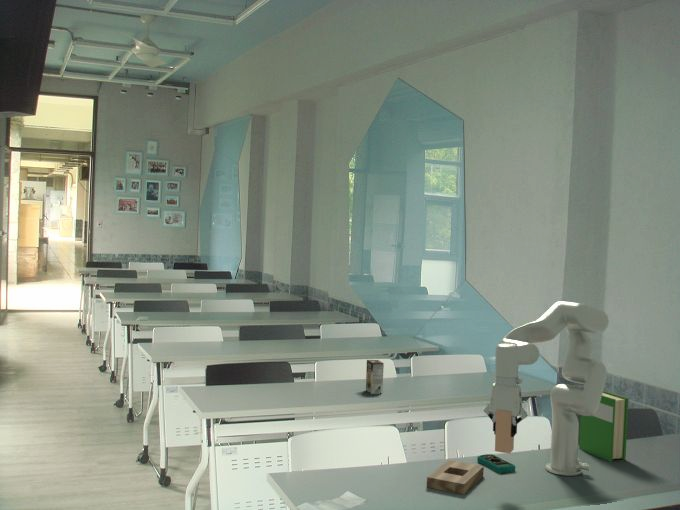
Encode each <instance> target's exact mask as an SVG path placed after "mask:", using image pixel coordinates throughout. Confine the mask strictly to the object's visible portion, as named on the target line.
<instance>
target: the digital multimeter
mask: <svg viewBox="0 0 680 510" xmlns="http://www.w3.org/2000/svg"><path fill="white" fill-rule="evenodd" d="M476 459H477V462H478V463H479V464H481V465H482V466H484V467H487V468H489V469H491V470H493V471H495V472H496V473H498V474H504V473H506V474H507V473H513V472H516V465H515V464H513V463H511V462H509V461H507V460H504V459H502V458H501V457H498V456H497V455H495V454H490V453H489V454H488V453H487V454H482V455H477V456H476Z"/></svg>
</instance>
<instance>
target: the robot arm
mask: <svg viewBox="0 0 680 510" xmlns="http://www.w3.org/2000/svg"><path fill="white" fill-rule="evenodd" d="M609 321H610V320H609V317H608V315H607V313H606V312H605V311H604V310H602V309H599V308H596V307H593V306H592V305H589V304H586V303H582V302H575V301H565V300H559V301H556V302H554V303H553V304H552V305H551V306H549V307H548V309H547V310H546V311H545V312H544V313H543V314H541V315H540V316H539V317H538V318H537V319H536V320H535V321H532V322H528V323H526V324H523V325H521V326H519V327H516V328H514V329H512V330H511V331H509V332H508V333H507V334H506V335H505V336H504V337H503V338H502V339H501V340H500V342H499V343H498V344H497V345H496V347H495V358H494V360H495V362H494V363H495V364H494V365H495V367H494V383H492V386H491V391H490V398H489V404H487V405H486V407H485V408H484V409H483V412H484V413H485V414H486V415H487V417H489V419H490V420H491V422H492V425H493V426H492V431H493V432H494V433H493V434H494V435H495V430H496V410H502V411H510V412H511V416H512V425H511V437H514V438H515V436H516V435H517V433H518V424H520V422H521V421H523V420H525V419H526V418H527V417H528V414H527V412H526V411H525V409H524V408H523V401H522V400H523V398H522V397H523V396H522V388H521V385H519V384H522V383H523V379H520V377H519V366H521V365H522V366H529V365H533V364H535V363H537V361H538V359H539V358H540V350H539V347H538V346H537V345H535V344H538V343H544V342H545V343H546V342H549V341H552V340H553V339H555V338H556V337H557V336H558V335H559V334H560V333H561V332H562V331H563V330H564V329H565V331H566V333H567V336H568V345H567V348H566V353H565V356H564V360H563V362H562V363H563V364H562V367H561V375H562V377H563V379H565V380H567V381H569V382H571V383H572V382H573V383H576V384H580V385H584V387H582V386H577V385H572V384H566V383H560V384H556V385H554V386H553V387H552V389H551V391H550V396H549V398H550V405H551V417H552V418H551V419H552V420H551V435H550V437H551V438H550V439H551V440H550V441H551V442H550V459H549V460H550V461H549V462H547V463H546V465H545V470H546V471H548V472H549V473H552V474H554V475H560V476H566V477H568V476H569V477H571V476H578V475H580V474H581V473H582V470H584V471H588V472H590V469H591V467H590V465H589V464H588V463H583V462H581V461H580V457H579V456H578V455H579V453H578V452H579V440H580V422H579V418H578V416H577V415H580V416H581V415H584V416H592V415H594V414H595V413H596V412H597V410H598V408H599V405H600V401H601V397H602V393H603V391H604V389H605V385H606V381H607V372H608V371H607V368H606V365H605V363H604V362H602V361H601V360H598V359H594V358H591V355H592V351H593V342H592V339H591V337H590V335H589V333H591V334H603V333H604V332H605V331H606V330H607V328H608V327H609ZM519 415H520V416H519ZM518 416H519V417H518Z"/></svg>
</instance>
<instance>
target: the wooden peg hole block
mask: <svg viewBox="0 0 680 510" xmlns="http://www.w3.org/2000/svg"><path fill="white" fill-rule="evenodd" d="M484 467H485V465H479V464H474V463H469V462H462V461H456V460H452V459H448V460H447V461H445V462H444V463H443V464H442V465H440V466H439V467H437V468H436V469H435V470H434V471H432V473H430V474H429V475H428V476H427V477H426V488H428V489H434V490H439V491H444V492H449V493H453V494H459V495H463V496H464V495H465V494H466V493H467V492H468V491H469V490H471V488H472V487H474V486H475V485H476V484H477V483H478V482H479V481H480V480H481V479H482V478H483V477H484V470H485V469H484Z"/></svg>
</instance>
